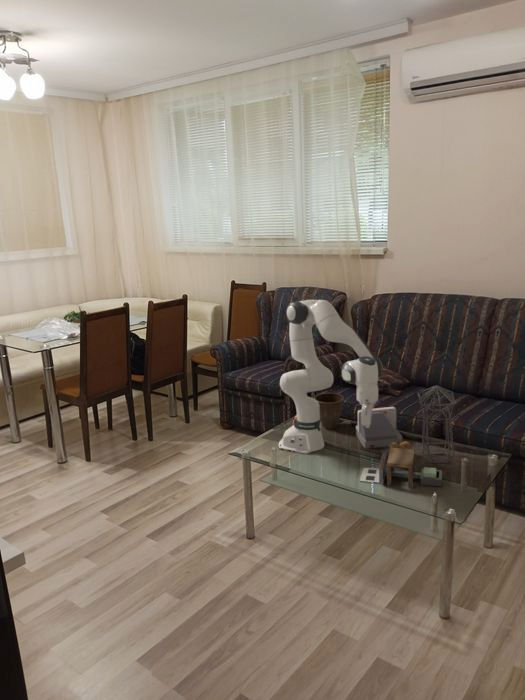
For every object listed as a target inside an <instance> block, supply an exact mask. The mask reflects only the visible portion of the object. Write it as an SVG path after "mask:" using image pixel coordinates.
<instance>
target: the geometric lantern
mask: <svg viewBox="0 0 525 700" xmlns="http://www.w3.org/2000/svg"><path fill="white" fill-rule="evenodd" d="M450 393H451V394H450ZM416 394H417V396H418V403H419V406H420V408H421V409H420V410H421V412H422V432H421V433H422V436H421V437H422V438H421V439H422V441H421V449H422V455H423V456H425V457H426V458H428V461H429V463H432V464H437V463H438V464H442V463H443V464H449V462H450V458H451V457H453V456H454V455H455V452H454V451H455V449H454V439H453V428H452V425H453V424H452V413H453V408H454V407H455V405H456V404H458V401H456V400H455V397H454V392H453V391H452V390H449V389H446V388H444V387H442V386H439V385H437V384H436V385H433V386H430V387H429V388H426V389H423V390H421V391H420V392H419V391H418V392H417V393H416ZM420 394H421V395H420ZM431 395H432V397H431ZM436 396H437V398H436ZM444 397H445V398H446V399H447V400H448V401H450V403H443V401H442V398H444ZM428 399H431V400H430V402H429V403H426V402H427V401H428ZM435 401H438V403H439V404H435ZM423 402H424V403H423ZM430 406H432V408H431V407H430ZM436 406H437V407H438V406H439V408H435V407H436ZM442 406H443V408H441V407H442ZM429 411H432V412H431V413H430V415H429ZM444 411H445V412H444ZM434 412H441V413H442V414H443V416H444V417H445V418H430V417H431V416H432V415H433V413H434ZM425 413H426V414H425ZM429 420H432V421H433V420H437V421H438V420H440V421H441V420H442V421H443V420H445V442H429ZM425 445H426V447H425ZM430 445H444V448H443V449H436V450H435V449H434V450H433V449H432V450H431V449H430V448H429V447H430ZM446 446H447V447H448V448H446ZM425 451H426V454H425ZM440 451H442V454H445V455H434V454H435V453H430V452H440ZM447 451H448V453H447ZM451 452H452V453H451ZM446 455H447V456H446ZM433 460H446V461H433Z"/></svg>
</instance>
